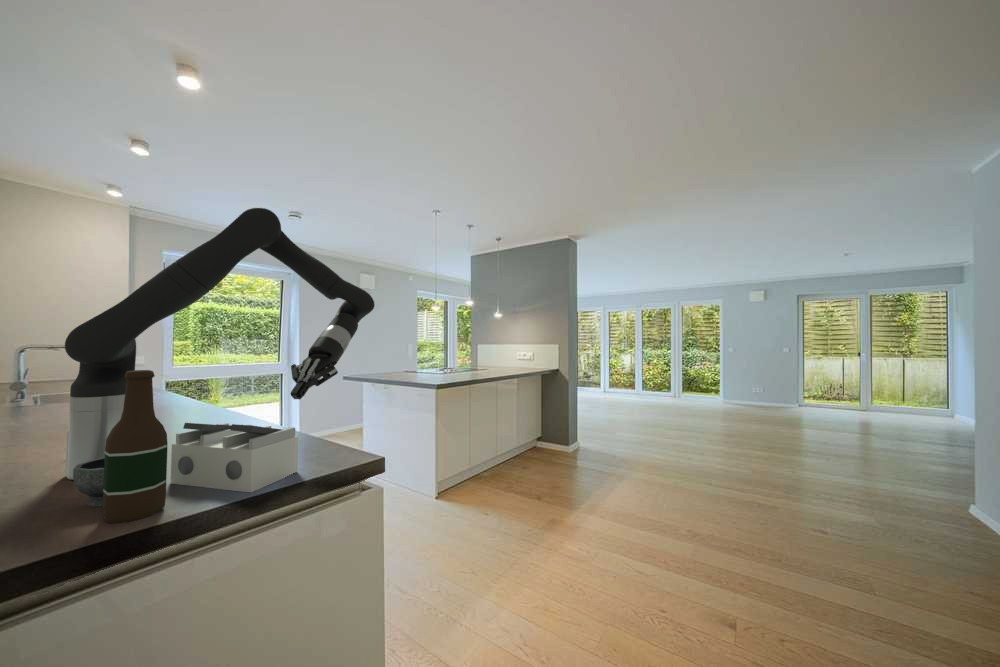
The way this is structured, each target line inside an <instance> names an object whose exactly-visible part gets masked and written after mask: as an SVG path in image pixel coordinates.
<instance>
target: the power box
mask: <svg viewBox="0 0 1000 667" xmlns="http://www.w3.org/2000/svg"><path fill="white" fill-rule="evenodd" d="M219 425H230V424H229V423H228V422H227V423H219ZM265 427H266V428H272V425H267V426H265ZM175 434H176V435H175V442H174V443H172V444H171V455H170V456H171V458H170V459H171V460H170V462H171V463H170V484H172V485H179V486H181V485H182V486H189V487H190V486H191V487H198V488H207V489H208V488H209V489H216V490H225V491H226V490H227V491H235V492H243V493H252V492H255V491H257V490H260V489H262V488H264V487H267V486H269V485H271V484H274V483H276V482H279V481H281V480H283V479H286V478H287V476H288V477H290V476H292V475H294V474H293V473H295V472H297V473H298V471H299V470H298V468H299V466H298V465H299V464H298V463H299V436H298V435H296V427H288V428H285V429H282V430H281V431H277V432H274V433H270V434H266V435H263V434H255V433H247V432H239V431H231V430H230V429H227V430H223V431H212V430H195V429H191V430H188V431H183V432H179V433H175ZM291 474H292V475H291ZM295 474H296V473H295ZM289 475H290V476H289ZM285 477H286V478H285Z"/></svg>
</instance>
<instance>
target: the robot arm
mask: <svg viewBox="0 0 1000 667" xmlns="http://www.w3.org/2000/svg"><path fill="white" fill-rule="evenodd" d="M258 249H259V250H261V251H263V252H265V253H267V254H269V255H270V256H272V257H273V258H275V259H276V260H278V261H280V262H281V263H282V264H283V265H286V267H288V268H289V269H291V271H293V272H294V273H295V274H297V276H299V277H300V278H302V280H304V281H305V282H306V283H308V284H309V285H310V286H311V287H312V288H314V289H315V290H317V291H318V292H319V293H320V294H321V295H323V296H324V297H325V298H327V299H328V300H331V301H333V300H337V299H341V300H343V301H344V302H343V303H342V304H341V305H340V307H339V308H338V310H337V312H336V314H335V316H334V317H333V319H331V321H330V322H329V323H328V325H327V327H326V328H325V329H324V330H323V331H322V332H321V333H320V334H319V336H318V337H317V338H316V340H315V341H314V342H313V344H312V345H311V346H310V348H309V350H308V356H307V357H306V358H305V359H303V360H302V363H299V364H298V365H297V364H296V363H293V364H292V365H290V369H291V371H290V372H291V378H292V380H293V381H294V383H295V385H294V387H293V388H292V389H291V391H290V397H291V398H292V399H293V400H301V399H302V398H303V397H305V395H306V394H307V392H308V391H309V389H310V388H312V387H313V386H315V387H319V386H320V385H322V384H323V383H326V382H327V381H329V379H332V377H334V376H336V375H338V373H339V371H338V370H337V368H336V367H335V366H336V365H337V363H338V362H339V361H340V359H341V357H342V356H343V354H344V353H345V351H346V350H347V349H348V346H349V345H350V342H351V340H352V339H353V337H354V336H355V334H356V332H357V330H358V327H359V322H360V321H361V320H362V319H363V318H365V317H366V316H367V315H369V314H370V313H371V312H372V311H373V310H374V309H375V300H374V299H373V296H372V295H371V294H370V293H369V292H367V291H366V290H364V289H363V288H361V287H359V286H357V285H355V284H353V283H351V282H349V281H347V280H344V279H343V278H342V277H341V276H340V275H339V274H338V273H337V272H335V271H333V270H332V269H331V268H330V267H329V266H327V265H326V264H325V263H323V262H322V261H320V260H319V259H317V258H315V257H314V256H312V255H311V254H309V253H308V252H306V251H305V250H303V249H302V248H301V247H299V245H297V244H296V243H295V242H293V241H292V240H291V239H290V238H289V237H288V236H287V234H286V233H285V232H284V230H282V225H281V221H280V218H279V217H278V216H277V215H276V213H275V212H273V211H272V210H270V209H268V208H266V207H259V206H257V207H250V208H248V209H246V210H245V211H243V212H242V213H241V214H239V215H238V216H237V217H236V218H235V219H234V220H233V221H232V222H231V223H230V224H229V225H227V226H226V227H225V228H224V229H223V230H222V231H220V232H219V233H218V234H217V235H215V236H214V237H212V238H210V239H209V240H207V241H206V242H204V243H202V244H201V245H199V246H197V247H196V248H194V249H192V250H190V251H189V252H187V253H186V254H185V255H183V256H181V257H180V258H178V259H177V260H175V261H173V263H171V264H169V265H167V266H166V267H165V268H164V269H162V270H160V272H158V273H157V274H155V275H154V276H153V277H151V279H149V280H148V281H146V282H145V283H144V284H142V285H140V286H139V287H138V288H136V289H135V290H133V292H131V294H129V295H128V296H126V298H124V299H123V300H121V301H119V302H118V303H116V304H114V305H113V306H112V307H110V308H107V309H106V310H104V311H102V312H101V313H100V314H97V315H96V316H94V317H92V318H90V319H89V320H86V321H85V322H83V323H82V324H80V325H78V326H76V327H75V328H73V329H72V330H71V331H70V332H69V333H68V335H67V337H66V339H65V341H64V350H65V352H66V354H67V356H68V357H69V358H71V359H72V360H73V361H75V362H78V363H79V367H78V368H79V369H78V374H77V377H76V378H75V379H74V381H73V382H72V383H71V385H70V391H69V393H70V394H69V419H68V431H67V433H66V451H65V452H66V453H65V476H66V479H68V480H70V481H71V480H73V481H74V478H73V469H74V468H75V467H76V466H77V465H78V464H82V463H85V462H88V461H92V460H96V459H101V458H105V446H106V439H107V438H108V436H109V434H110V432H111V430H112V429H113V427H114V426H115V425H116V424H117V423H118V422H119V421H120V419H121V416H122V412H123V407H124V399H125V391H126V382H127V379H126V378H125V374H126V372H128V371H133V370H136V360H137V358H136V357H137V342H136V341H137V340H136V339H137V338H138V337H139V336H140V335H142V334H143V333H144V332H145V331H146V330H147V329H149V328H150V327H152V326H153V325H155V324H156V323H158V322H159V321H162V320H164V319H166V318H168V317H171V316H172V315H174V314H177V313H178V312H180V311H182V310H184V309H186V308H187V307H190V306H191V305H193V304H194V303H197V301H199V300H200V299H202V298H203V297H204V296H205V295H207V294H208V293H209V292H210V291H213V289H214V288H215V287H217V285H219V284H221V282H222V281H223V280H224V279H225V278H226V277H228V275H229V274H230V272H231V271H232V270H234V268H235V267H236V265H238V264H239V263H240V262H241V261H243V259H245V258H246V257H248V256H249V255H251V254H252V253H254V252H255V251H257V250H258Z"/></svg>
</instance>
